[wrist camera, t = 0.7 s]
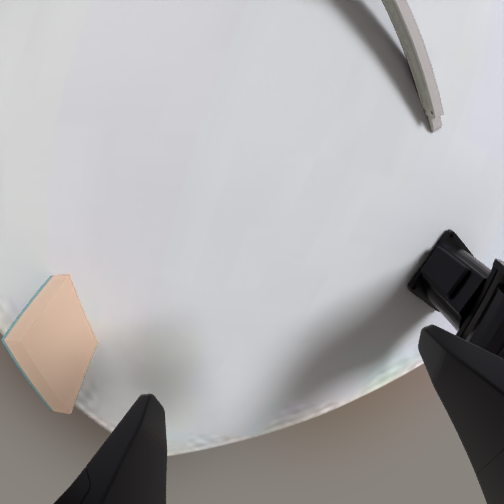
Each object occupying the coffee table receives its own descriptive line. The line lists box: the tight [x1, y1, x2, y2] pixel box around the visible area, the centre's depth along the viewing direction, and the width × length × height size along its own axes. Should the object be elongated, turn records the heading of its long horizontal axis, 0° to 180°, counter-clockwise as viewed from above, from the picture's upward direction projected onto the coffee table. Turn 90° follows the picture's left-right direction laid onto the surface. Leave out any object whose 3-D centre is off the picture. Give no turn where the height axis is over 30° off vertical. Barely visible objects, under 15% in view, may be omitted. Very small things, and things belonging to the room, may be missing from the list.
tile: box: [2, 274, 98, 414], centre depth 17 cm, size 2×7×8 cm, turn 4°
